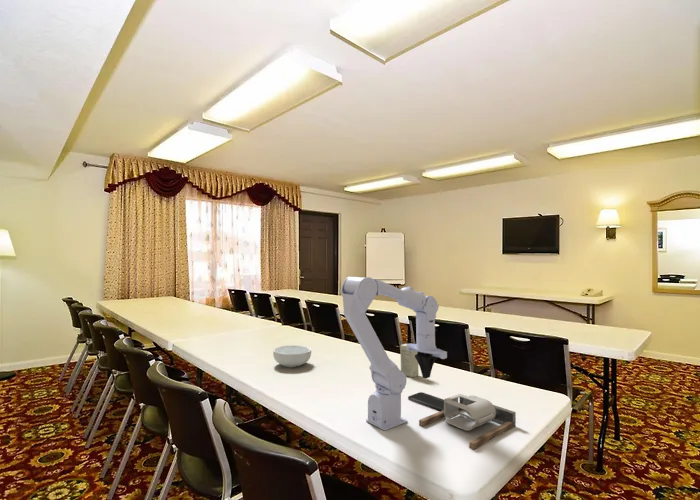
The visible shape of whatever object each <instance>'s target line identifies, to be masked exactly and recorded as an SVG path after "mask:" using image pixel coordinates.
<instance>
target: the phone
mask: <svg viewBox="0 0 700 500" xmlns="http://www.w3.org/2000/svg"><path fill="white" fill-rule="evenodd" d="M407 399H408V401H410V402H412V403H415V404H419V405H421V406H423V407H426V408H430V409H432V410H435V411H438V412H440V411H443V410H444V399H445V398H440V397H439V396H438V397H437V396H434V395H432V394H428V393H426V392H421V391H420V392H417V393H414V394H411V395H408V397H407Z"/></svg>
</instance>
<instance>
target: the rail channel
mask: <svg viewBox="0 0 700 500" xmlns="http://www.w3.org/2000/svg"><path fill="white" fill-rule="evenodd" d="M464 399H465V398H462V397H459V403H461V404H463V401H464ZM493 406H494V407H495V410H496V416H495V418H494V419H493V420H491V421H493V422H495V423H499V424H501V425H498V426H497V427H495V428H493V429H491V430H489V431H487V432H486V433H484V434H481V435H480V436H478V437H475V439H472V440H470V441H469V442H468V445H469V449H471V451H472V450H473V451H474V450H476V449H478V448H480V447H482V446H484V445H485V444H487V443H489V442H491V441H492V440H495V439H496V438H498V437H500V436H501V435H503V434H505V433H507V432H509V431H511V430H512V429H513V428H515V427H516V426H517V425H516V422H517V421H516V415H517V414H516V411H514V410H510V409H507V408H504V407H500V406H498V405H495V404H493ZM458 410H459V412H462V411H465V410H464V409H461V408H459V407H458ZM444 418H446V417H445V415H444V410H443V411H438V412H435V413H433V414H430V415H428V416H425V417H422V418H420V419H419V420H418V425H419V427H420V426H421V427H423V428H424V427H425V426H427V425H430V424H432V423H434V422H437V421H440V420H441V419H444Z"/></svg>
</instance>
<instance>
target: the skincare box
mask: <svg viewBox="0 0 700 500" xmlns="http://www.w3.org/2000/svg"><path fill="white" fill-rule="evenodd" d="M407 344H408V343H403V344H400V347H399V350H400V371H402V372H404V374H405V375H406V377H411V378H415V377H417V376H419V374H420V373H419V364H418V362H417V360H416V358H415V355H416V354H417V353H418V352H415V351H411V350H410V351H409V350H407Z"/></svg>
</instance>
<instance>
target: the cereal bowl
mask: <svg viewBox="0 0 700 500" xmlns="http://www.w3.org/2000/svg"><path fill="white" fill-rule="evenodd" d="M272 355H273V359H274V360H275V362H276V363H277V364H279V365H281V366H283V365H284V366H283V367H285V366H287V367H286V368H297V367H296V366H298V367H300V366H301V365H304V364H306V363H307V362H308V361H309V360H310V359H311V356H312V348H311V347H309V346H303V345H295V344H294V345H293V344H292V345H291V344H290V345H282V346H277V347H276V348H274V349H273V353H272ZM299 365H300V366H299Z"/></svg>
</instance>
